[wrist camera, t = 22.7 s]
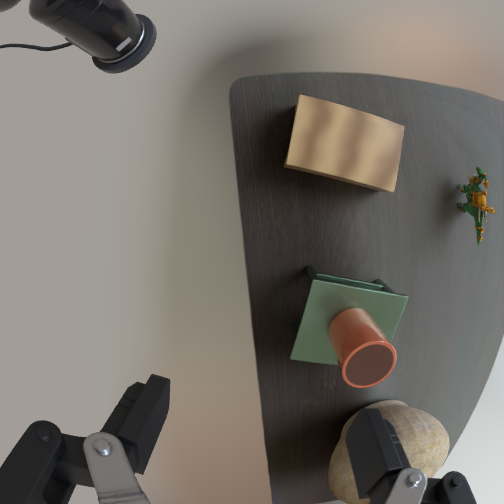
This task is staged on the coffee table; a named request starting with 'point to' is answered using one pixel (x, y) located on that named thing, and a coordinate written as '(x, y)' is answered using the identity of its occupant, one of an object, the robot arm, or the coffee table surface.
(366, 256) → the coffee table surface
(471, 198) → the figurine
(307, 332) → the green miniature table
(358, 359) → the cup
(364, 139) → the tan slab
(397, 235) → the coffee table surface
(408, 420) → the vase
